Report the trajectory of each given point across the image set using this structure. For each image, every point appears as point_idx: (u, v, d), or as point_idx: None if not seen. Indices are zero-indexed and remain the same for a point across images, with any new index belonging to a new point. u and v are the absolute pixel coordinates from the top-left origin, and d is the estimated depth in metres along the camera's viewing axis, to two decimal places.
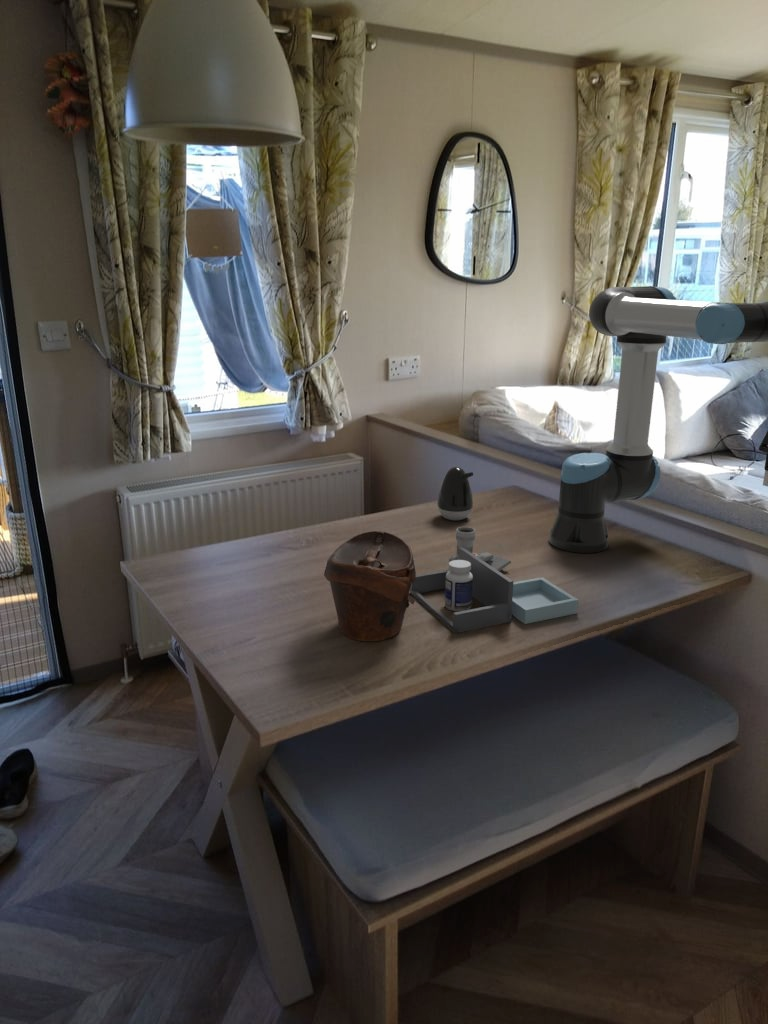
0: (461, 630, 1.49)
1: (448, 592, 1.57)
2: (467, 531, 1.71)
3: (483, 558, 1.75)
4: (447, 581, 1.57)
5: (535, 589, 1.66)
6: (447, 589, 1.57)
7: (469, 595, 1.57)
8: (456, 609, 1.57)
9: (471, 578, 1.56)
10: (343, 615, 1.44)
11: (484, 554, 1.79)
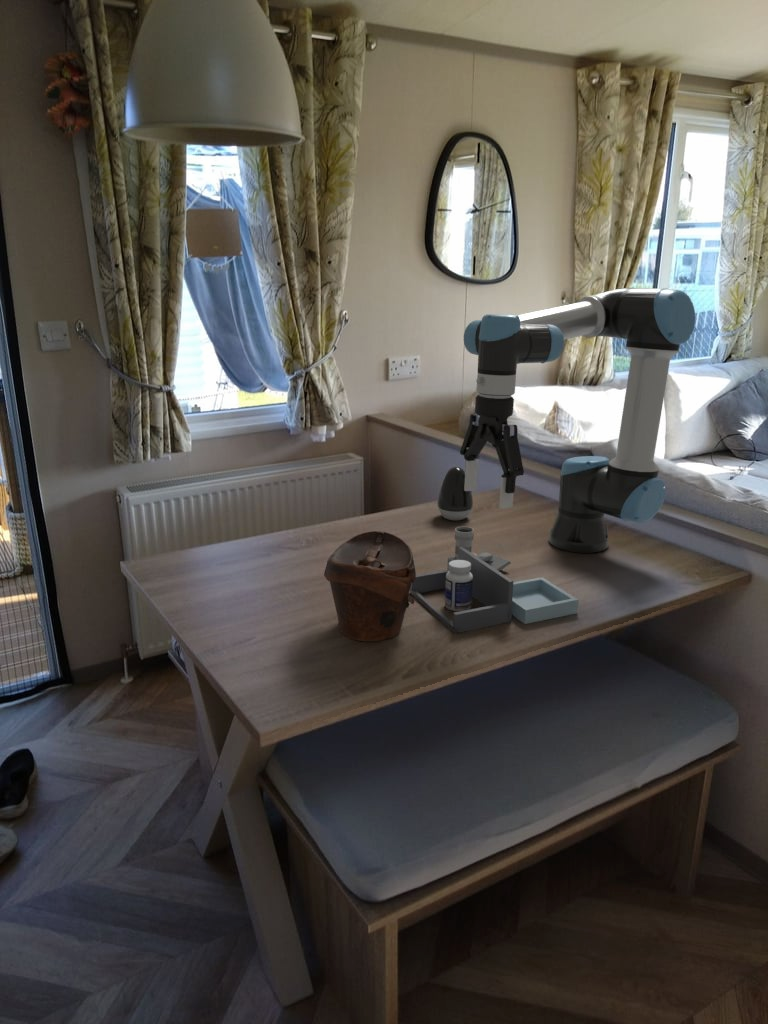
0: (461, 630, 1.49)
1: (448, 592, 1.57)
2: (466, 531, 1.71)
3: (482, 558, 1.75)
4: (447, 581, 1.57)
5: (535, 589, 1.66)
6: (447, 589, 1.57)
7: (469, 595, 1.57)
8: (456, 609, 1.57)
9: (471, 578, 1.56)
10: (343, 616, 1.44)
11: (484, 554, 1.79)
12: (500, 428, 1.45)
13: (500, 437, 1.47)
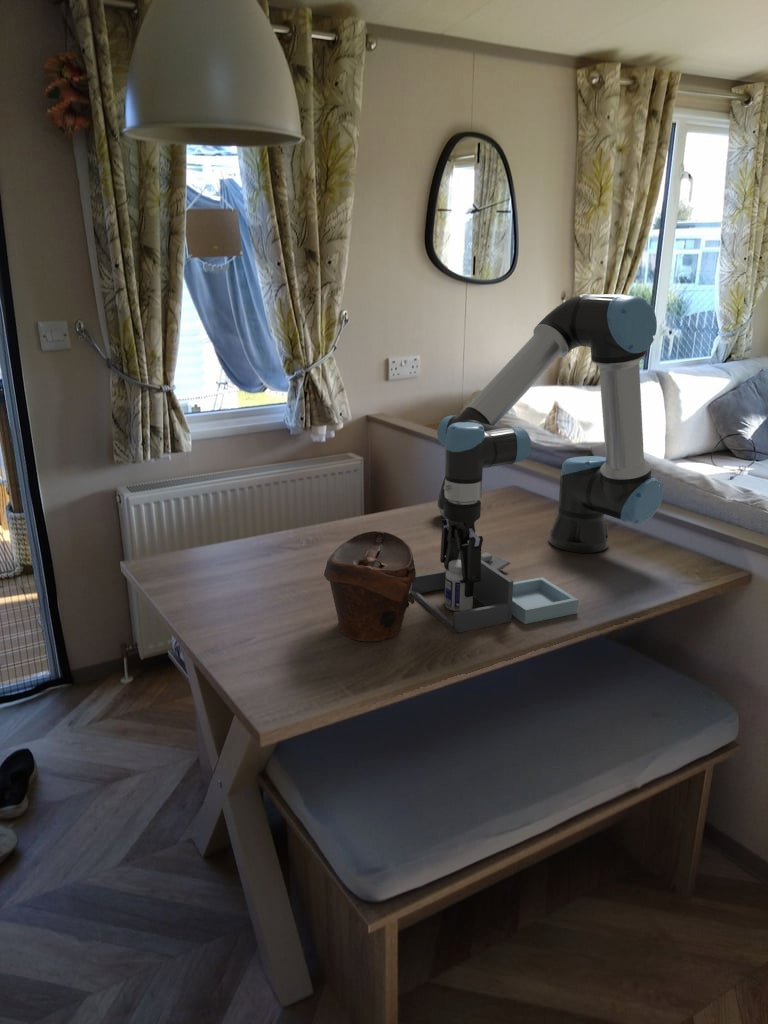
0: (461, 630, 1.49)
1: (448, 592, 1.57)
2: None
3: (481, 558, 1.74)
4: (447, 581, 1.57)
5: (535, 589, 1.66)
6: (447, 589, 1.57)
7: None
8: (456, 609, 1.57)
9: None
10: (343, 616, 1.44)
11: (483, 554, 1.78)
12: (467, 532, 1.50)
13: (468, 540, 1.52)
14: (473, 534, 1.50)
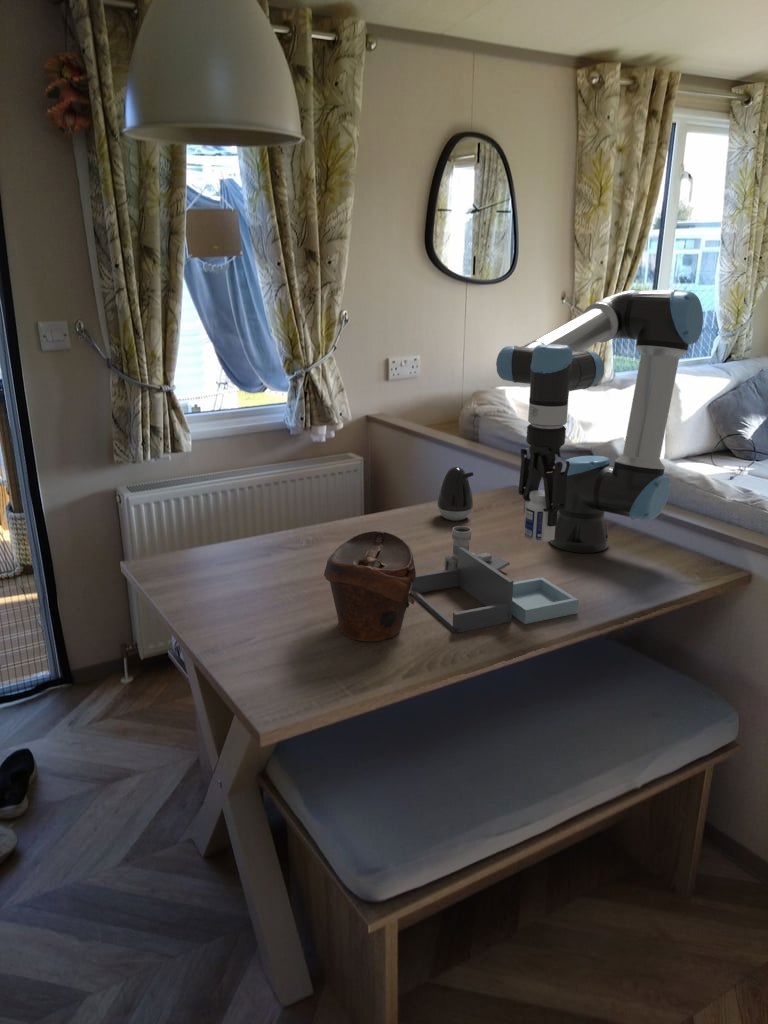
0: (461, 630, 1.49)
1: (529, 523, 1.53)
2: (463, 530, 1.72)
3: (480, 558, 1.74)
4: (528, 511, 1.53)
5: (535, 589, 1.66)
6: (528, 519, 1.53)
7: None
8: (538, 540, 1.53)
9: None
10: (343, 616, 1.44)
11: (483, 554, 1.78)
12: (553, 458, 1.46)
13: (552, 466, 1.48)
14: (559, 459, 1.45)
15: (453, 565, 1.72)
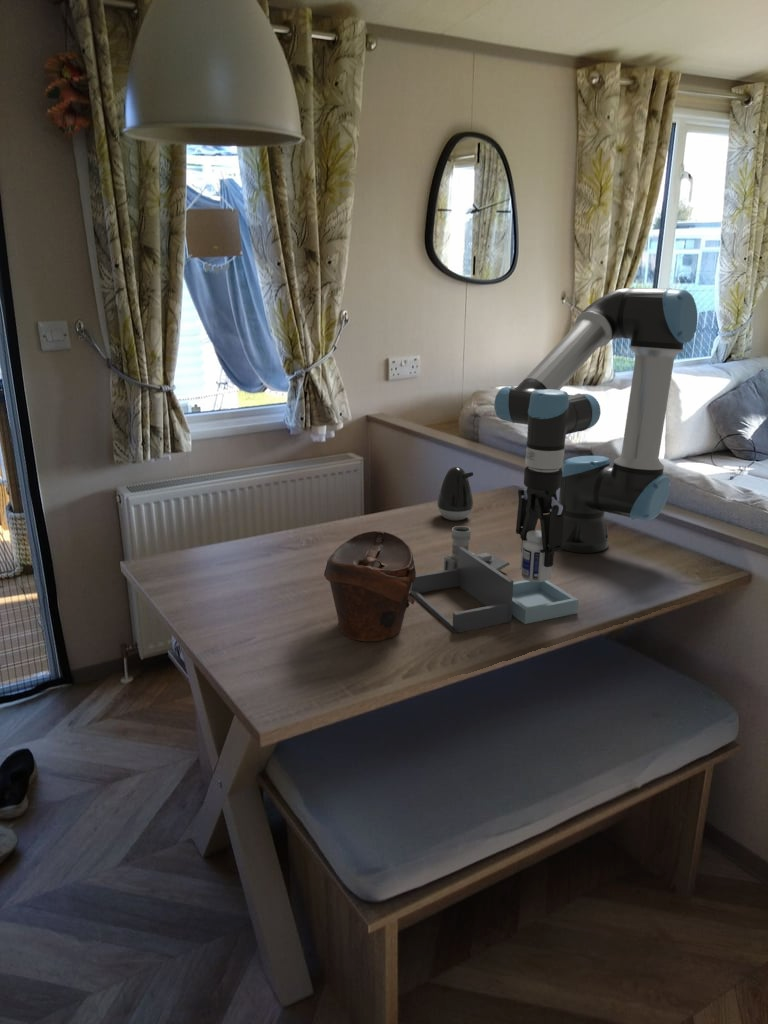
0: (461, 630, 1.49)
1: (526, 563, 1.56)
2: (462, 530, 1.72)
3: None
4: (525, 551, 1.55)
5: (535, 589, 1.66)
6: (525, 559, 1.56)
7: None
8: (534, 580, 1.55)
9: None
10: (343, 616, 1.44)
11: (482, 554, 1.78)
12: (549, 501, 1.49)
13: (549, 508, 1.51)
14: (556, 502, 1.48)
15: (452, 565, 1.72)
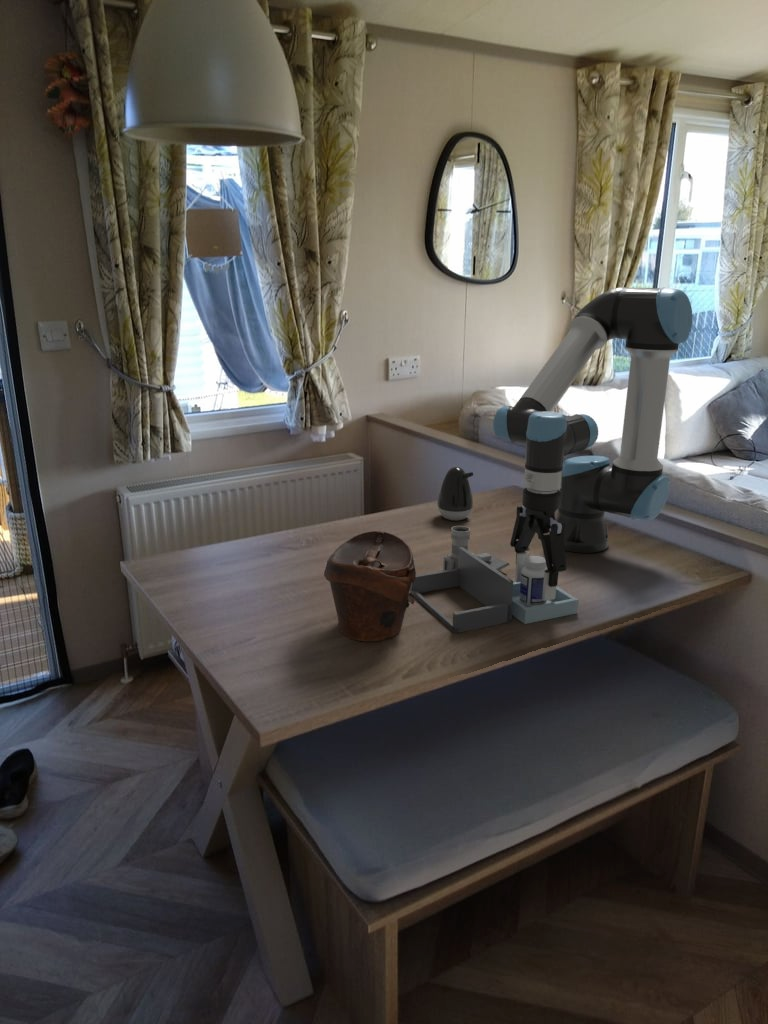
0: (461, 630, 1.49)
1: (523, 588, 1.58)
2: (462, 530, 1.72)
3: None
4: (523, 577, 1.57)
5: None
6: (523, 585, 1.58)
7: None
8: (532, 605, 1.58)
9: None
10: (343, 616, 1.44)
11: (482, 554, 1.78)
12: (548, 522, 1.50)
13: (548, 529, 1.52)
14: (554, 521, 1.49)
15: (451, 565, 1.72)
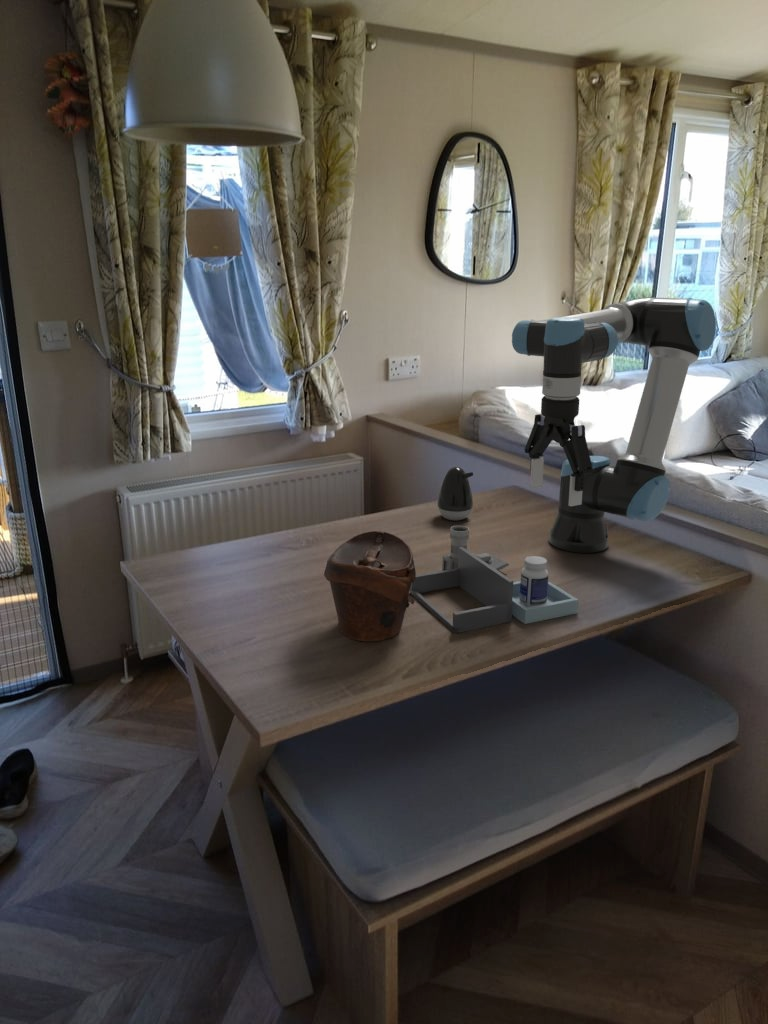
0: (461, 630, 1.49)
1: (523, 589, 1.58)
2: (460, 530, 1.72)
3: None
4: (523, 577, 1.57)
5: None
6: (522, 585, 1.58)
7: (545, 591, 1.57)
8: None
9: (547, 574, 1.57)
10: (343, 616, 1.44)
11: (482, 554, 1.78)
12: (567, 429, 1.50)
13: (567, 437, 1.52)
14: (574, 425, 1.49)
15: (450, 564, 1.72)
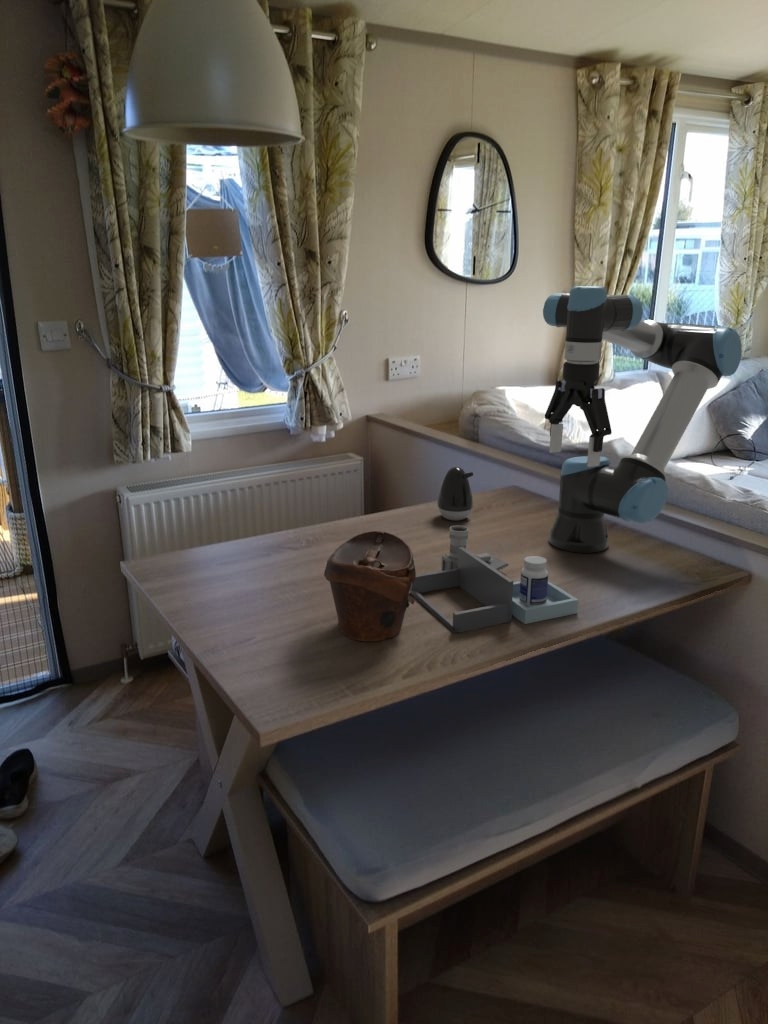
0: (461, 630, 1.49)
1: (523, 588, 1.58)
2: (460, 530, 1.72)
3: None
4: (523, 577, 1.57)
5: None
6: (522, 585, 1.58)
7: (545, 591, 1.57)
8: (532, 605, 1.58)
9: (547, 574, 1.57)
10: (343, 616, 1.44)
11: (482, 555, 1.78)
12: (588, 392, 1.57)
13: (587, 400, 1.59)
14: None
15: (449, 564, 1.72)
